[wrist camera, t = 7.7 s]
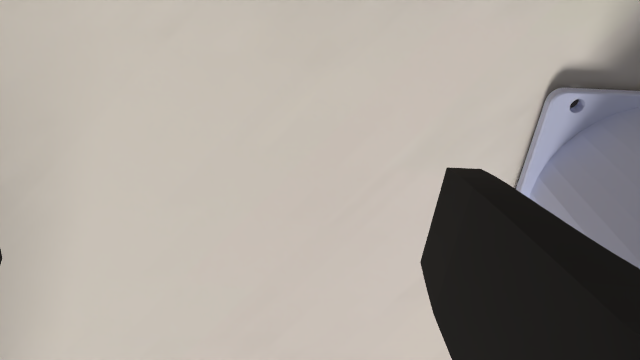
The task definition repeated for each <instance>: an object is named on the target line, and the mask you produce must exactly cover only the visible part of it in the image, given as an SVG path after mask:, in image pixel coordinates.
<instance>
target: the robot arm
mask: <svg viewBox="0 0 640 360" xmlns="http://www.w3.org/2000/svg"><path fill="white" fill-rule="evenodd" d="M577 99H579V102H578V103H577V105H576V106H574V107H573V108H570V105H571V104H572V102H573V101H575V100H577ZM1 261H2V255H1V250H0V264H1ZM421 266H422V271H423V275H424V279H425V283H426V287H427V291H428V295H429V299H430V302H431V306H432V310H433V313H434V316H435V318H436V321H437V324H438V326H439V329H440V331H441V334H442V336H443V338H444V341H445V343H446V346H447V348H448V351H449V353H450V356H451V358H452V360H640V91H631V90H608V89H585V88H558V89H556V90H554V91H552V92H551V93H550V94H549V95H548V97H547V98H546V100H545V103H544V106H543V109H542V112H541V115H540V118H539V121H538V124H537V127H536V130H535V133H534V136H533V139H532V142H531V145H530V148H529V151H528V154H527V157H526V160H525V163H524V166H523V169H522V172H521V175H520V178H519V181H518V184H517V187H516V189H514V188H513V187H511V186H510V185H508V184H507V183H505V182H503V181H502V180H500V179H498V178H497V177H495V176H493V175H492V174H490V173H488V172H486V171H484V170H482V169H466V168H447V169H446V173H445V176H444V180H443V183H442V187H441V191H440V194H439V198H438V201H437V205H436V208H435V212H434V216H433V219H432V223H431V226H430V230H429V234H428V237H427V241H426V244H425V248H424V251H423V255H422V259H421Z"/></svg>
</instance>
